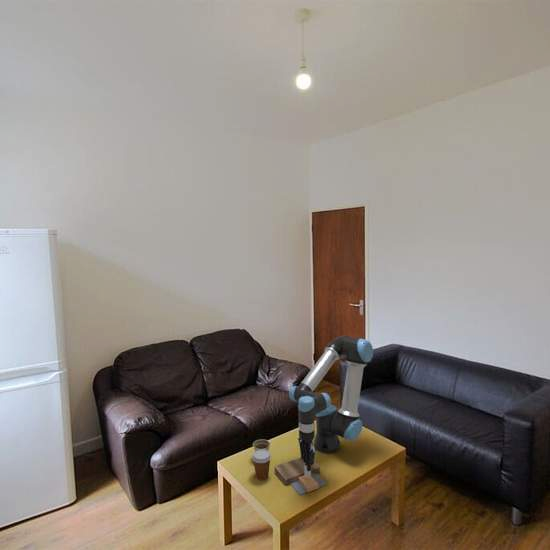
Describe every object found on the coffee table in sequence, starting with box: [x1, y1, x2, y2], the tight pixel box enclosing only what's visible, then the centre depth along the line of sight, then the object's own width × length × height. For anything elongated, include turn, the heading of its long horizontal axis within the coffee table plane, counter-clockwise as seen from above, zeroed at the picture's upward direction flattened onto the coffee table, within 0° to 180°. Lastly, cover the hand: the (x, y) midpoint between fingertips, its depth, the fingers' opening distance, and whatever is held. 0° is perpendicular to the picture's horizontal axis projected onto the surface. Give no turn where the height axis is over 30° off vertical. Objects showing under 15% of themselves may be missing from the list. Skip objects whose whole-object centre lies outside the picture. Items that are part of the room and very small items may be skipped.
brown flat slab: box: [273, 456, 321, 486], centre depth 185 cm, size 20×12×3 cm, turn 117°
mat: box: [289, 474, 327, 496], centre depth 176 cm, size 15×9×1 cm, turn 117°
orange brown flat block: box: [298, 475, 320, 493], centre depth 175 cm, size 6×9×2 cm, turn 27°
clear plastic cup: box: [252, 439, 271, 452], centre depth 196 cm, size 9×9×9 cm
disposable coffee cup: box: [251, 449, 272, 481], centre depth 182 cm, size 10×10×12 cm
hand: (307, 475), depth 176 cm, fingers closed
